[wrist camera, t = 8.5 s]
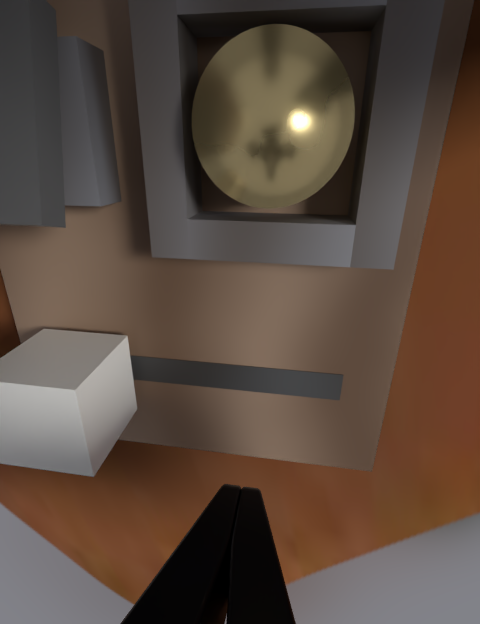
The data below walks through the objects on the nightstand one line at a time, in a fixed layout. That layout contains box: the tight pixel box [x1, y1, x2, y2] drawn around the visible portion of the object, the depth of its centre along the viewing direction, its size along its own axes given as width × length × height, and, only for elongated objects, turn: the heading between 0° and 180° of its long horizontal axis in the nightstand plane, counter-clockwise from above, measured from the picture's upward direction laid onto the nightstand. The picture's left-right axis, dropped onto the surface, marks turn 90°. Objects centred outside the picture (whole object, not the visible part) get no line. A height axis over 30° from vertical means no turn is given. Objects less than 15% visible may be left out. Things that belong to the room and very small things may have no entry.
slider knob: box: [0, 329, 137, 477], centre depth 11 cm, size 3×3×3 cm
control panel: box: [0, 0, 474, 472], centre depth 11 cm, size 13×14×3 cm
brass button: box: [192, 24, 355, 209], centre depth 8 cm, size 3×3×2 cm
